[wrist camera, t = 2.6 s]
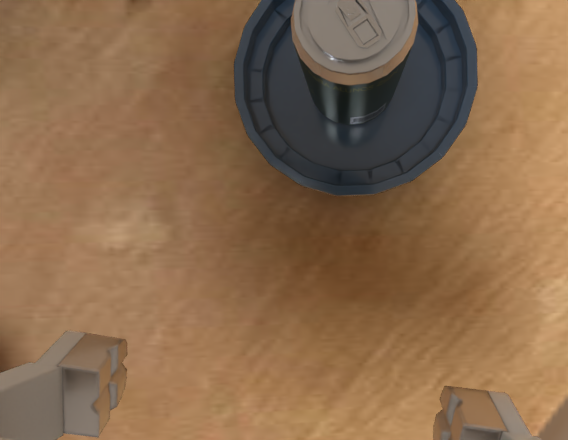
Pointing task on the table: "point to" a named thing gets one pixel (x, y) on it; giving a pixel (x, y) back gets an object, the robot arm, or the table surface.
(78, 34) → the table surface
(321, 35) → the beer can
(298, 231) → the table surface
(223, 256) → the table surface
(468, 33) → the bowl
